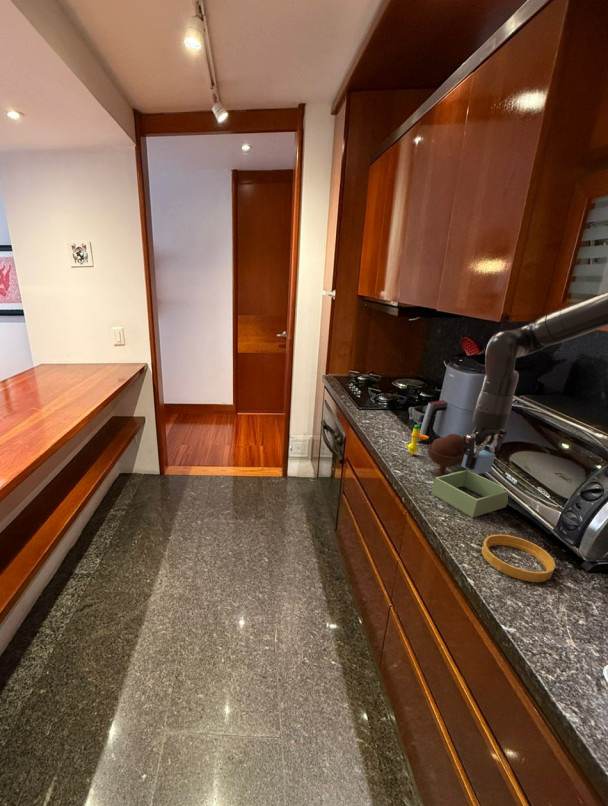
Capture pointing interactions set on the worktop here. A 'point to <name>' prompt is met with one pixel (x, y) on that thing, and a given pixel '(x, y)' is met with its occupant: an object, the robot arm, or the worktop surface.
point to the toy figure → (415, 439)
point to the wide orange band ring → (524, 546)
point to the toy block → (481, 462)
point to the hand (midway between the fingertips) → (476, 466)
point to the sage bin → (471, 506)
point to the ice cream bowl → (446, 452)
